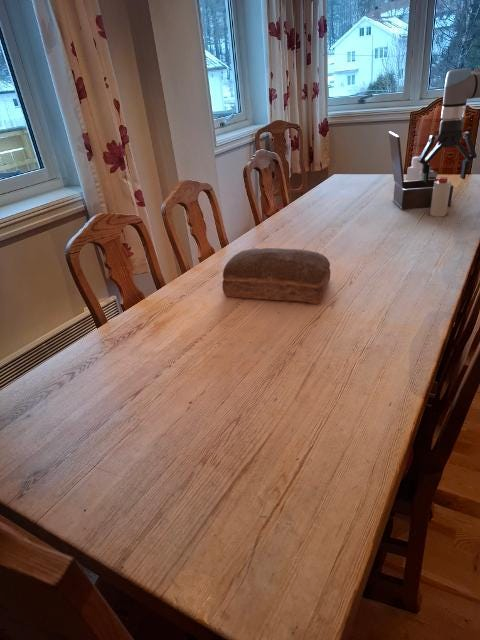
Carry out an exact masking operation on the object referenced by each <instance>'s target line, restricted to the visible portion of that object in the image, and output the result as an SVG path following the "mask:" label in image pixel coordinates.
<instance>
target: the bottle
mask: <svg viewBox="0 0 480 640" xmlns="http://www.w3.org/2000/svg"><path fill="white" fill-rule="evenodd" d="M437 179H438V181H435V182H434V187H433V194H432V201H431V208H429V215H430V216H432V217H445V216H447V212H448V207H447V206H448V200H449V194H450V187H451V185H452V181H451V180H449V177H447V176H439V177H438V178H437Z"/></svg>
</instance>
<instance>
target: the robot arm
mask: <svg viewBox="0 0 480 640" xmlns="http://www.w3.org/2000/svg"><path fill="white" fill-rule="evenodd" d="M443 89H444V90H443V97H442V99H443V100H442V107H441V115H440V119H441V121H440V123H439V130H438V131H439V132H438V135H433V134H430V135H429V138H428V141H427V143H426V145H425V147H424V148H423V150H422V152H421V153H420V155H419V156H420V157H419V159H418V162H419V163H422V164H423V166H422V173H424V180H423V181H424V182H426V183H427V182H428V176H429V167H431V166H430V165H431V164H430V162H431V161H432V159H433V158H435V156H436V155H437V154H438V153H439V151H441V150H442V149H443V148H444V149H445V148H452V147H453V148H454V147H456V148H457V150H458V151H459V152H460V154H461V155H462V156H463V157H464V159H462V164H461V170H460V176H459V177H460V179H462V180H466V176H467V171H468V170H470V166H471V161H472V160H473V159H477V153H476V149H475V147H474V144H473V140H472V132H470V131H468V130H467V131H465V132H463V128H464V121H465V120H464V119H463V118H465V114H466V107H467V101H468V100H471V99H480V67H477V68H475V69H473V70H472V69H471V68H469V67H466V68H465V67H464V68H456V69H451V70H448V71H447V72H446V76H445V82H444V88H443ZM462 139H464V141H465V144H466V147H467V150H468V151H467V150H466V148H465V147H464V146H463V144H462V143H461V141H460V140H462ZM435 142H437V143H436V145H435V146H434V144H435ZM433 146H434V147H433ZM432 147H433V149H432ZM431 149H432V150H431Z"/></svg>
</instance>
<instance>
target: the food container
mask: <svg viewBox="0 0 480 640" xmlns="http://www.w3.org/2000/svg"><path fill="white" fill-rule="evenodd" d="M420 175H421V180H424V173H422V169H421V171H420ZM437 177H438V172H437V171H435V170H434V169H433V166H430V167H429V176H428V179H437Z"/></svg>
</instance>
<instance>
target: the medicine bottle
mask: <svg viewBox="0 0 480 640" xmlns="http://www.w3.org/2000/svg"><path fill="white" fill-rule="evenodd" d="M420 156H421V155H415V156H412V158H411V166H408V167H407V170H406V179H405V181H414V180H421V175H420V171H421V169H422V166H423V164H422V163H419V162H418V159H419V157H420Z"/></svg>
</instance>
